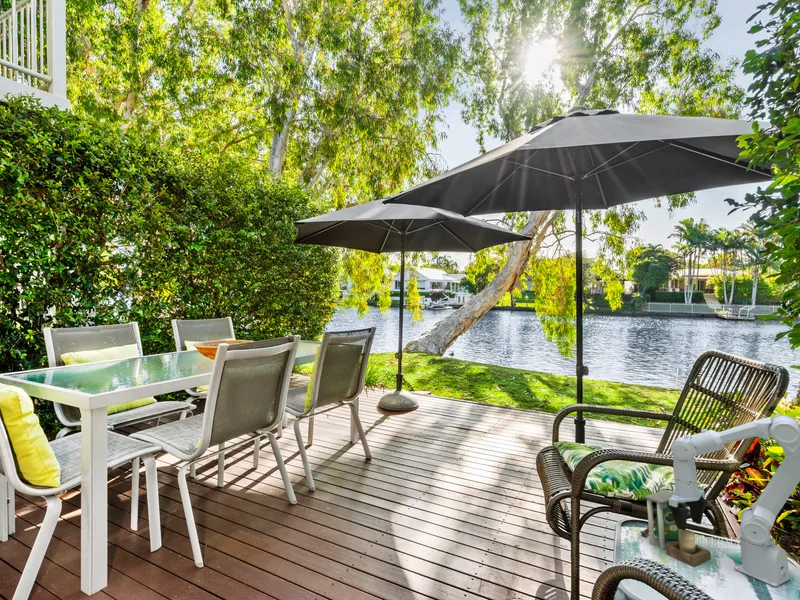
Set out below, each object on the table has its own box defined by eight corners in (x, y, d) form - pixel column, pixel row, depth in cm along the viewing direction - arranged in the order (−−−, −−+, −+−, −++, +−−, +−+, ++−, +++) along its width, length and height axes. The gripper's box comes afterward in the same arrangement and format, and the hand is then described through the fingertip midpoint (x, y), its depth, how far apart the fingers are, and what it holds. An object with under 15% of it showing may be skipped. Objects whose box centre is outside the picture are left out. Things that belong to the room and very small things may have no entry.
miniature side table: (685, 543, 134) (681, 495, 135) (665, 551, 130) (661, 502, 131) (668, 536, 139) (664, 490, 140) (648, 543, 135) (644, 496, 136)
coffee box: (676, 535, 139) (680, 495, 139) (683, 540, 136) (687, 499, 136) (653, 534, 138) (657, 494, 138) (660, 540, 135) (663, 498, 135)
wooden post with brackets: (665, 530, 141) (660, 518, 141) (649, 544, 138) (644, 532, 138) (660, 528, 143) (655, 516, 143) (644, 542, 140) (639, 530, 140)
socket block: (711, 559, 125) (710, 550, 125) (694, 567, 121) (693, 557, 121) (682, 547, 132) (682, 538, 132) (666, 554, 128) (665, 545, 128)
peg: (699, 558, 126) (697, 533, 126) (691, 561, 124) (689, 536, 124) (685, 551, 129) (683, 528, 130) (677, 555, 127) (675, 531, 128)
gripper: (686, 471, 135) (689, 515, 134) (657, 479, 129) (660, 526, 128) (710, 477, 129) (714, 524, 128) (681, 487, 123) (685, 536, 122)
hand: (689, 525), depth 128 cm, fingers open, 7 cm apart
